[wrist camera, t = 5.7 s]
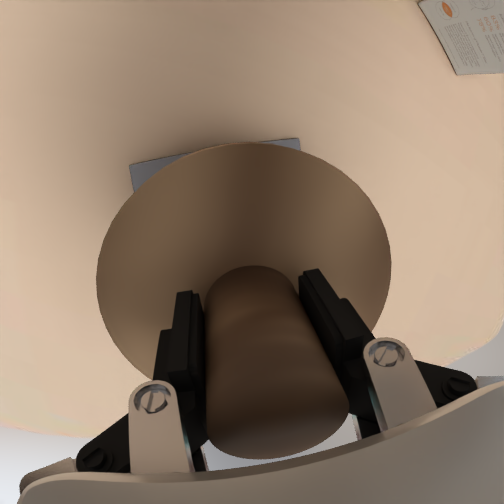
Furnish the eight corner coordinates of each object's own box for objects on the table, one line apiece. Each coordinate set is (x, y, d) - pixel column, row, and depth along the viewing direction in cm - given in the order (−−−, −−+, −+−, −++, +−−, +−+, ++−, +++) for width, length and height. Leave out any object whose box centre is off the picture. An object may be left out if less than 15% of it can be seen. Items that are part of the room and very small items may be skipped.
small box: (484, 60, 19) (581, 61, 7) (455, 76, 20) (567, 77, 8) (449, -7, 16) (541, -31, 4) (415, 2, 17) (519, -33, 5)
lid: (382, 131, 10) (516, 160, 5) (367, 361, 15) (419, 452, 10) (68, 178, 10) (-48, 246, 4) (153, 400, 15) (145, 506, 9)
